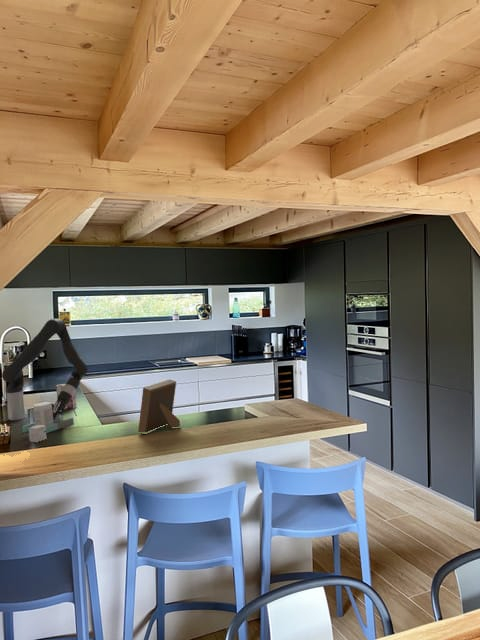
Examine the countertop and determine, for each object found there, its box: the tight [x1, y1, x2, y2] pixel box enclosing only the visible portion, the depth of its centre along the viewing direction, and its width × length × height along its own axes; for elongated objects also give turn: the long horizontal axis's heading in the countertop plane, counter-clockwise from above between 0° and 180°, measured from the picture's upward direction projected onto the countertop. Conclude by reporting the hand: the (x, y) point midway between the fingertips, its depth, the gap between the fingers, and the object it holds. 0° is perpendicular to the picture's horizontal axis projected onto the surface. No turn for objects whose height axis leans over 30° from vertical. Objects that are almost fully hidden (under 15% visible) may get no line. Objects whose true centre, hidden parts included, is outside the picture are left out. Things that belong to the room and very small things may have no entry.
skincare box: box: [28, 425, 48, 443], centre depth 248 cm, size 6×6×7 cm
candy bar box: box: [55, 383, 77, 410], centre depth 318 cm, size 11×5×16 cm, turn 80°
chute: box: [22, 415, 75, 434], centre depth 271 cm, size 15×22×4 cm
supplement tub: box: [33, 401, 54, 426], centre depth 268 cm, size 10×10×15 cm
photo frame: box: [137, 379, 181, 433], centre depth 250 cm, size 15×22×25 cm
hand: (51, 419), depth 273 cm, fingers closed
